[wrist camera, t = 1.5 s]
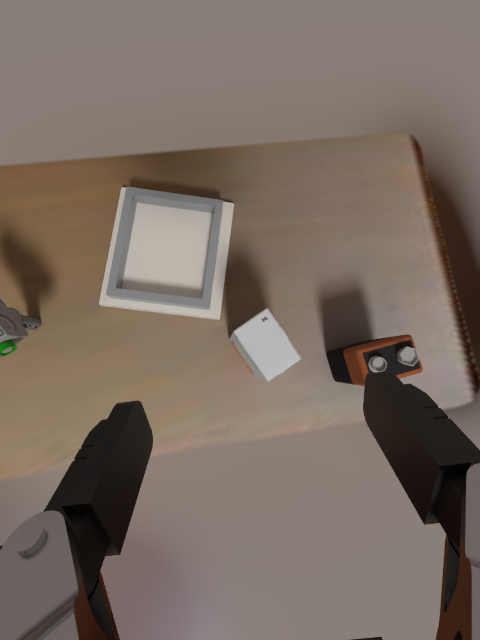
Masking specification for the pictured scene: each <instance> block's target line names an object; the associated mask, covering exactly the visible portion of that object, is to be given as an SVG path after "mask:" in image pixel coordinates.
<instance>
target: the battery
mask: <svg viewBox="0 0 480 640" xmlns="http://www.w3.org/2000/svg"><path fill="white" fill-rule="evenodd" d="M327 357H328V360H329V364H330V367H331V370H332V374H333V377H334V380H335V381H337V382H342V383H348V384H355V385H361V386H365V378H366V375H367V374H368V373H375V372H383V371H392V372H393V373H394V374H395V375H396V376H397V377H398V378H399V379H400V378H403V377H407V376H410V375H414V374H417V373H420V372H421V371H422V370H423V368H422V365H421V362H420V358H419V355H418V352H417V349H416V348H415V345H414V342H413V339H412V337H411V336H410V335H401V336H394V337H388V338H381V339H374V340H368V341H364V342H360V343H357V344H353V345H349V346H345V347H342V348H338V349H334V350H331V351H328V352H327Z"/></svg>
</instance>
